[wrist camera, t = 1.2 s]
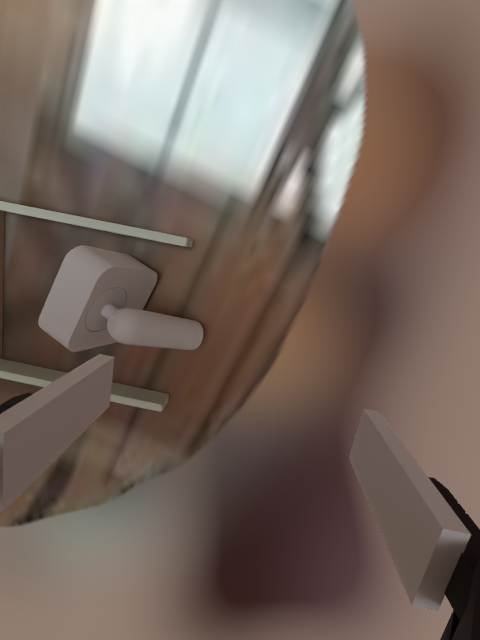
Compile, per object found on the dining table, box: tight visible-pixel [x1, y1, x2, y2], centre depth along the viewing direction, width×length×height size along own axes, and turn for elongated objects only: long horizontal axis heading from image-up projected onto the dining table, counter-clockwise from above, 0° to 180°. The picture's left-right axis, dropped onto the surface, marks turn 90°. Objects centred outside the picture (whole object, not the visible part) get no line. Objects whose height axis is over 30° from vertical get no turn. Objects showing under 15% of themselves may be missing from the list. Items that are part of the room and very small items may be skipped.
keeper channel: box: [0, 201, 193, 412], centre depth 31 cm, size 20×18×3 cm
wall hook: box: [38, 245, 203, 352], centre depth 28 cm, size 8×10×10 cm
